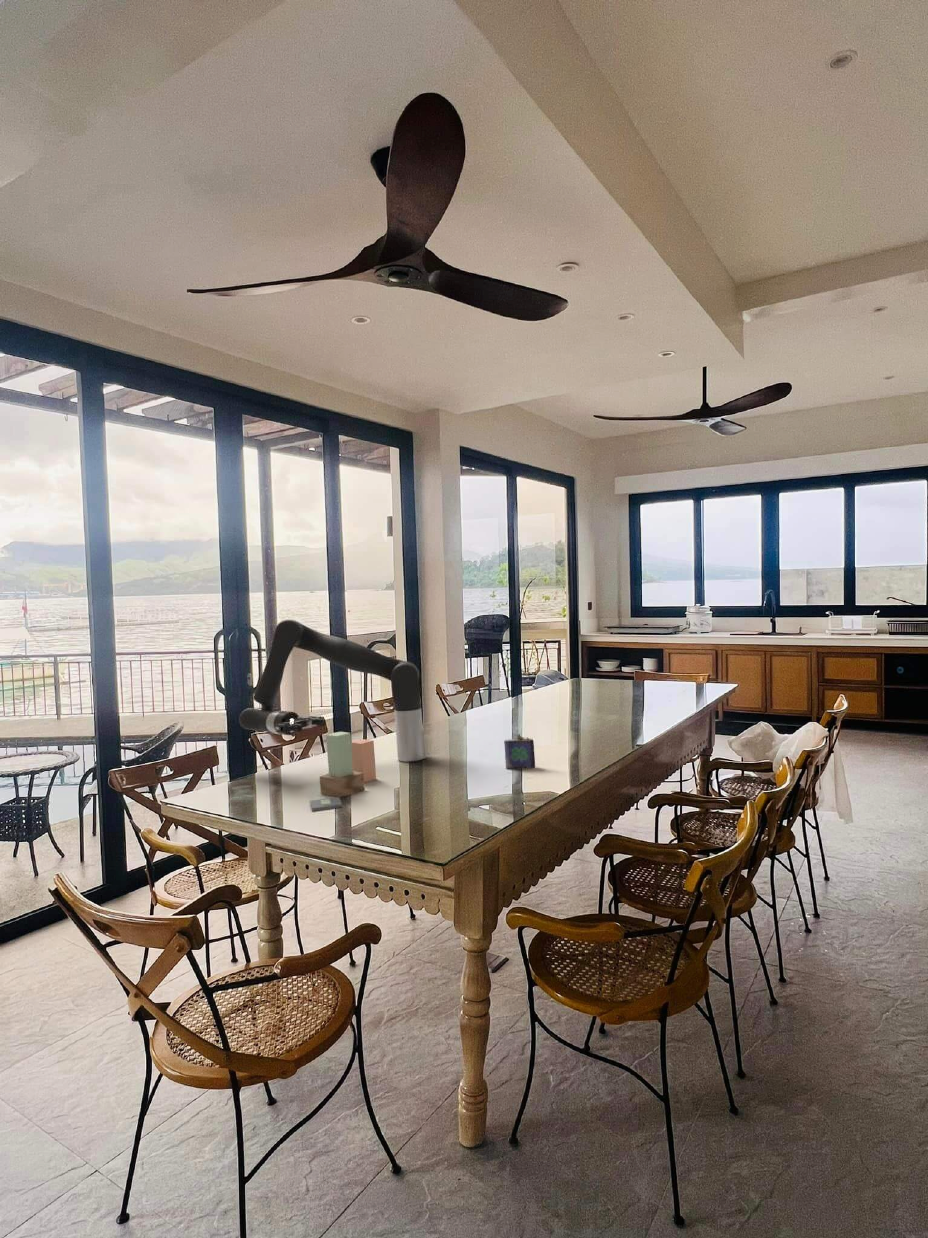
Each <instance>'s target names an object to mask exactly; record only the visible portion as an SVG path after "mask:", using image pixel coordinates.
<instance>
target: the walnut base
mask: <svg viewBox="0 0 928 1238" xmlns="http://www.w3.org/2000/svg"><path fill="white" fill-rule="evenodd" d="M319 788H320V794H322V795H323V794H324V795H327V796H332V797H339V798H343V797H346V796H349V795H352V794H356V793H358V792H362V791H364V790H365V783H364V777H363V773H361V772H356V771H353V774H350V775H347V776H343V777H340V778H339V777H334V776H329V773H326V774H323V775H319Z"/></svg>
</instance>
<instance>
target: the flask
mask: <svg viewBox="0 0 928 1238" xmlns="http://www.w3.org/2000/svg"><path fill="white" fill-rule="evenodd" d="M515 737H516V738H515V739H512V738H511V739H505V740H504V742H503V743H504V757H505V758H504V759H505V760H504V761H505V769H506V770H513V769H514V770H523V769H536V757H535V742H534V740H533V738H529V737H526V738H525V737H523V736H521V733H520V732H519V733H516V735H515Z"/></svg>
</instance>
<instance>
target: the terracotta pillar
mask: <svg viewBox="0 0 928 1238" xmlns="http://www.w3.org/2000/svg"><path fill="white" fill-rule="evenodd" d="M351 748H352V761H353V771H356V772H361V773H363V777H364V784H365V783H369V782H372V781H374V780H377V770H376V758H375V754H376V753H375V742H374V740H371V739H364V738H363V739H358V740H355V741H351Z"/></svg>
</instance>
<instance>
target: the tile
mask: <svg viewBox="0 0 928 1238" xmlns="http://www.w3.org/2000/svg"><path fill="white" fill-rule="evenodd" d="M340 798H341V797H335V796H332V797H329V798H328V797H326V798H320V799H313V800H309V804H310V809H311V812H317V811H324V810H325V811H326V810H330V809H338V808H343V803H342V800H341V799H340Z"/></svg>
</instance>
